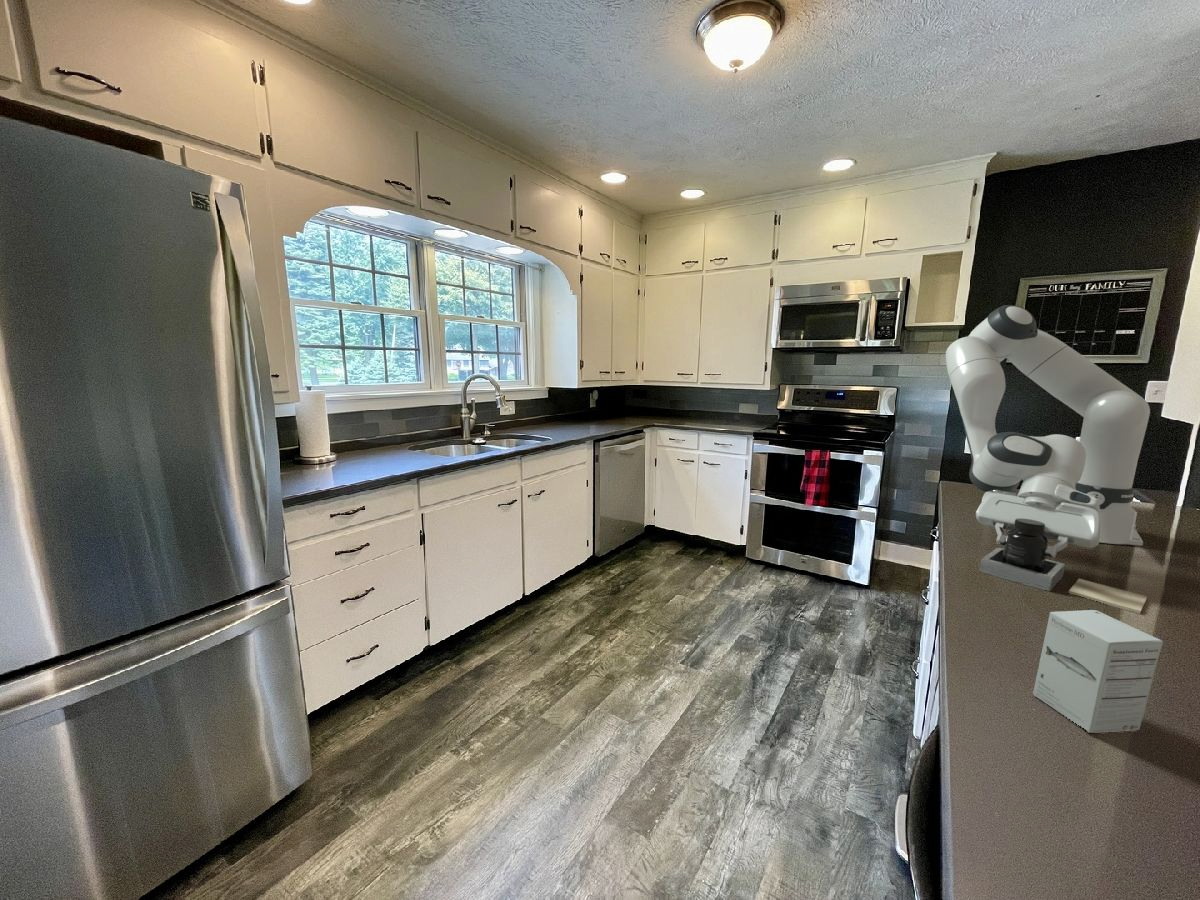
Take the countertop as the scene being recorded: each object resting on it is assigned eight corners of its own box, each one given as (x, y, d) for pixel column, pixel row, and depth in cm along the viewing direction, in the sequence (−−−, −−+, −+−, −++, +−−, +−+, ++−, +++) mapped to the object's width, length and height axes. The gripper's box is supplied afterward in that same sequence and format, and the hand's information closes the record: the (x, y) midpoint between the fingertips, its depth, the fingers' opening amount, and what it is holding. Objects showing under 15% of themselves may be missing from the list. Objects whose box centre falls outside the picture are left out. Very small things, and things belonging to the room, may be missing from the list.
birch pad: (1078, 581, 101) (1079, 578, 101) (1146, 599, 93) (1147, 596, 93) (1068, 593, 95) (1068, 590, 95) (1139, 614, 88) (1140, 611, 87)
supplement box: (1030, 695, 66) (1046, 610, 63) (1079, 692, 66) (1097, 608, 64) (1088, 736, 58) (1109, 642, 56) (1143, 733, 59) (1166, 639, 57)
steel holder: (995, 559, 112) (997, 547, 111) (1062, 577, 103) (1065, 564, 102) (979, 571, 105) (981, 558, 104) (1049, 591, 96) (1052, 577, 95)
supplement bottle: (1049, 582, 100) (1060, 528, 98) (1012, 579, 101) (1022, 525, 99) (1028, 569, 106) (1037, 517, 104) (993, 566, 108) (1001, 515, 106)
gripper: (984, 480, 113) (964, 527, 109) (1109, 500, 97) (1090, 557, 93) (988, 495, 116) (968, 542, 112) (1108, 517, 100) (1090, 573, 96)
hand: (1024, 549), depth 102 cm, fingers closed on supplement bottle, 7 cm apart
